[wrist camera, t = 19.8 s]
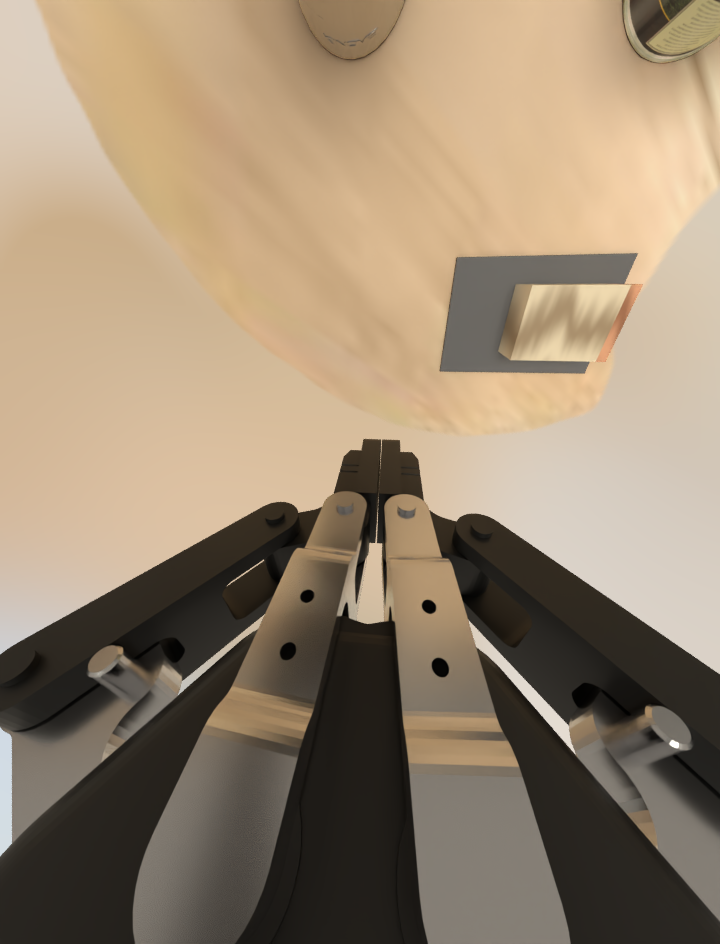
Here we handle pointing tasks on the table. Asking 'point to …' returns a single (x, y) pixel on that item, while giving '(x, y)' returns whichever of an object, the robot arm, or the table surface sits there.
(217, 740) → the robot arm
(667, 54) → the coffee can
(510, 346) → the block
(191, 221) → the table surface
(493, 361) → the mat
